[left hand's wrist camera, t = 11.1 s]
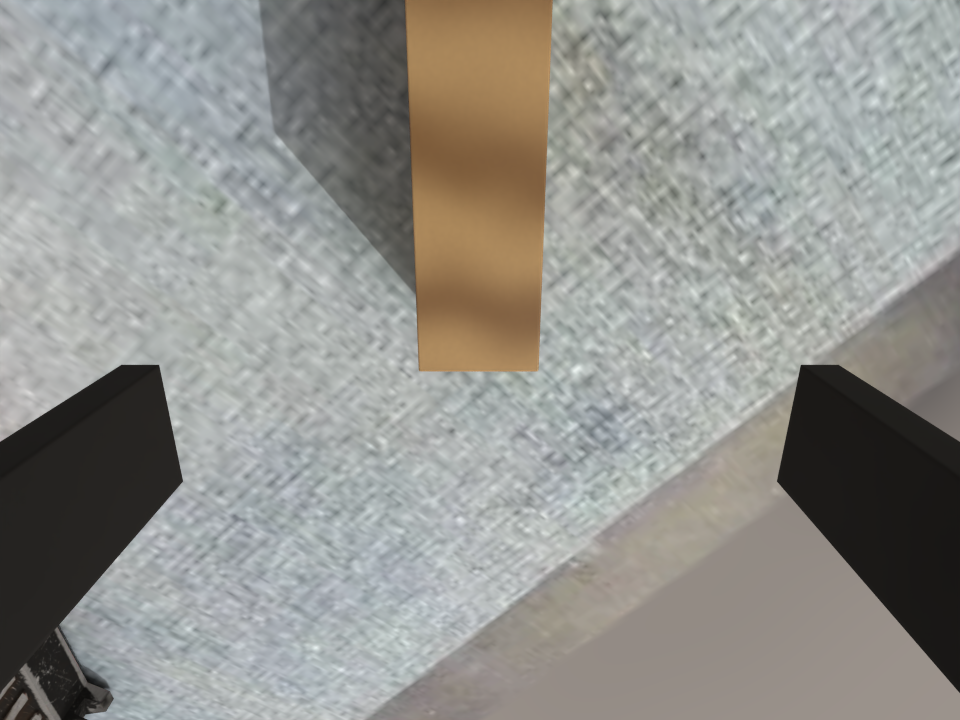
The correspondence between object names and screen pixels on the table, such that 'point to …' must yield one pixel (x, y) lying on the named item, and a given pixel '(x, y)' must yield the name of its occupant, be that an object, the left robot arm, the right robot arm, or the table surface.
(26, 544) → the left robot arm
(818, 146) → the table surface
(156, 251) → the table surface
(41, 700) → the gun
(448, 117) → the beam
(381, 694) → the table surface
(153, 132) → the table surface
